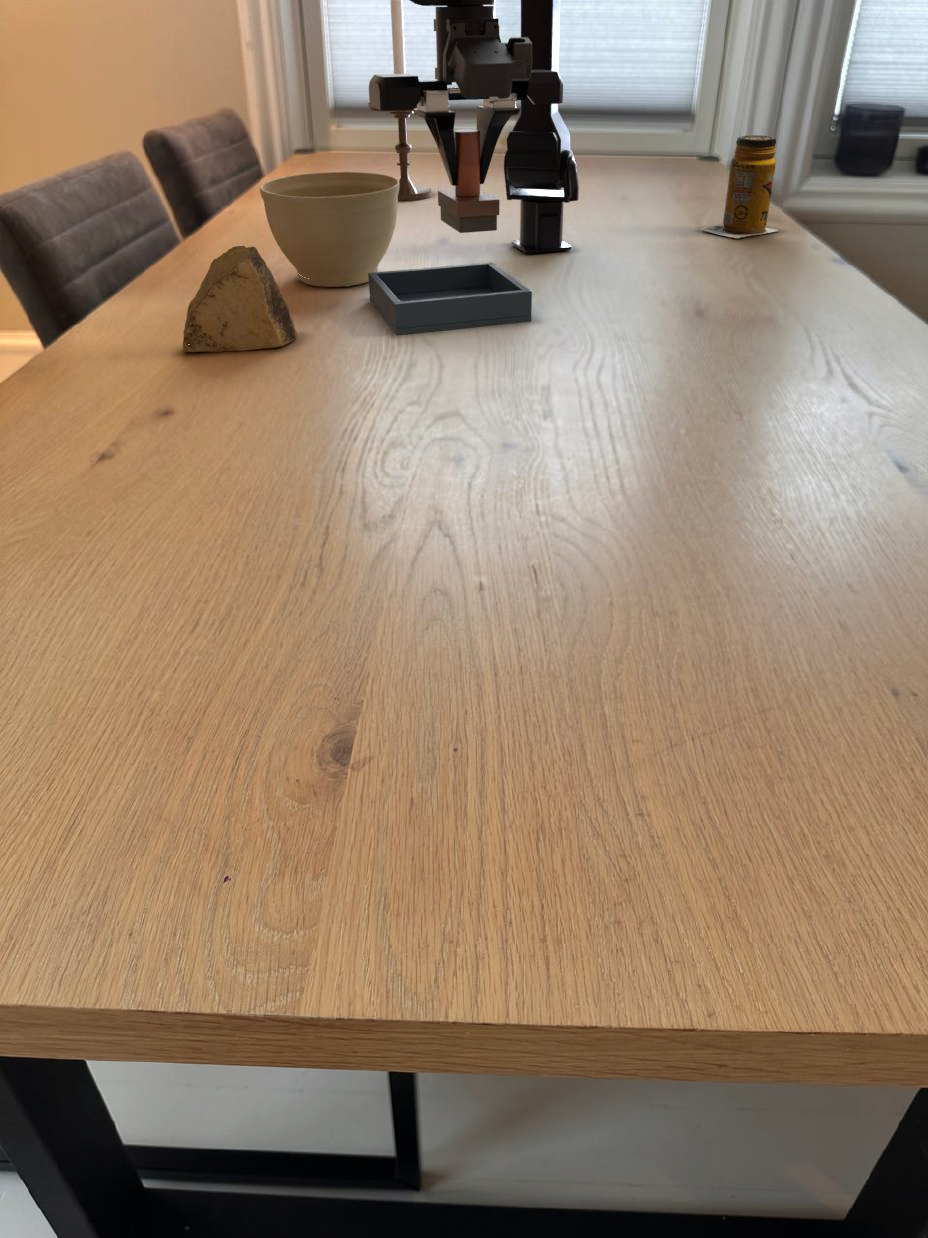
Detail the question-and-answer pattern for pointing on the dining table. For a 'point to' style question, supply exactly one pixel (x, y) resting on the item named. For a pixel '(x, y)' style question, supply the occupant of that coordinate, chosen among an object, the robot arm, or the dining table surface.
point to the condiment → (748, 188)
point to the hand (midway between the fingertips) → (467, 184)
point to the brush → (468, 190)
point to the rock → (238, 307)
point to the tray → (449, 298)
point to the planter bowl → (332, 223)
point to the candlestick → (403, 148)
